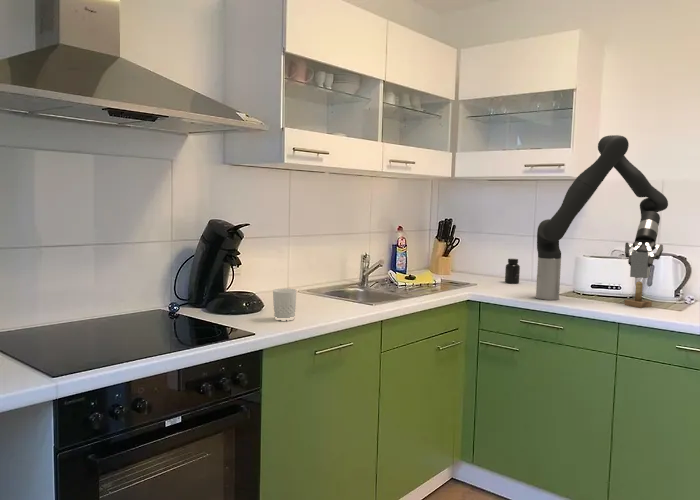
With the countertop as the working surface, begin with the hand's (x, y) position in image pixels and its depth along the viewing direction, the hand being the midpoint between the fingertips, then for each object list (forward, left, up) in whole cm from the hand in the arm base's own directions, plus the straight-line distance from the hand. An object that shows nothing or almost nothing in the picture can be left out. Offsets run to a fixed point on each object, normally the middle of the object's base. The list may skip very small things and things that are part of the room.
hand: (639, 265), depth 231 cm
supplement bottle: (-48, +47, -17) cm, 69 cm away
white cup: (-121, -69, -17) cm, 141 cm away
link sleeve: (+1, +2, -5) cm, 5 cm away
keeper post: (+1, +2, -16) cm, 17 cm away
